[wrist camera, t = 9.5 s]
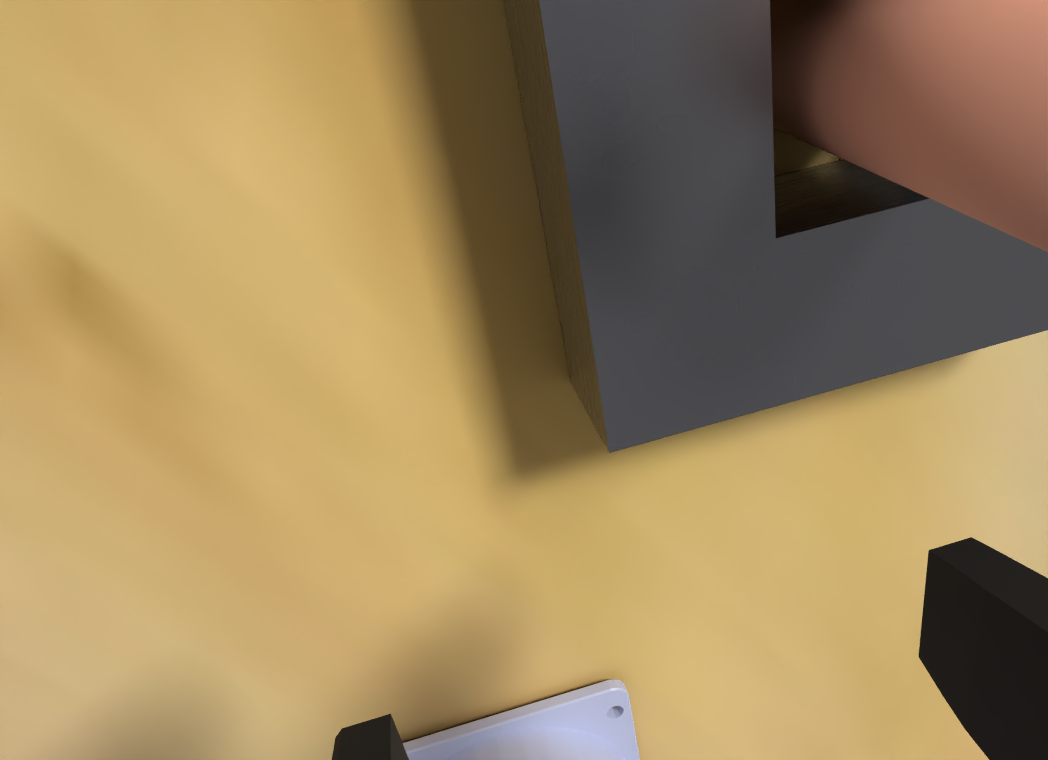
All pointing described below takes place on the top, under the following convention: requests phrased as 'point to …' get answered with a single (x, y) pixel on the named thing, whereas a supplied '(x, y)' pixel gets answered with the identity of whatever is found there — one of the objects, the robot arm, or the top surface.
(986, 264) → the collar block
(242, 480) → the top surface
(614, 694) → the robot arm
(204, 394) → the top surface
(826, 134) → the pin
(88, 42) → the top surface
